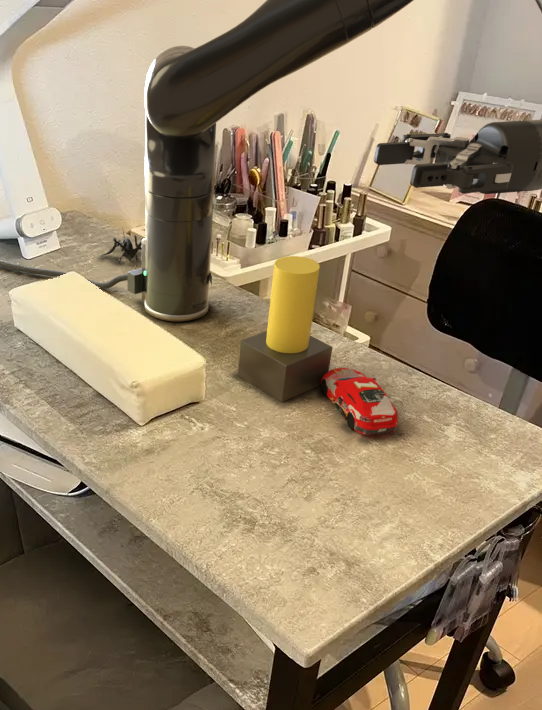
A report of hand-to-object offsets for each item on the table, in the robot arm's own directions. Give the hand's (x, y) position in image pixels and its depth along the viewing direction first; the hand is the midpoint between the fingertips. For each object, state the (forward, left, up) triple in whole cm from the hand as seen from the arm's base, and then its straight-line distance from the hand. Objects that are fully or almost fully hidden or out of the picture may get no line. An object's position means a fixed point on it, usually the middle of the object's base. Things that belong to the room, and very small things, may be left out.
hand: (394, 165), depth 85 cm
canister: (-3, -10, -20) cm, 23 cm away
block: (-3, -10, -25) cm, 27 cm away
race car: (+7, -8, -25) cm, 27 cm away
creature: (-47, -3, -25) cm, 54 cm away
